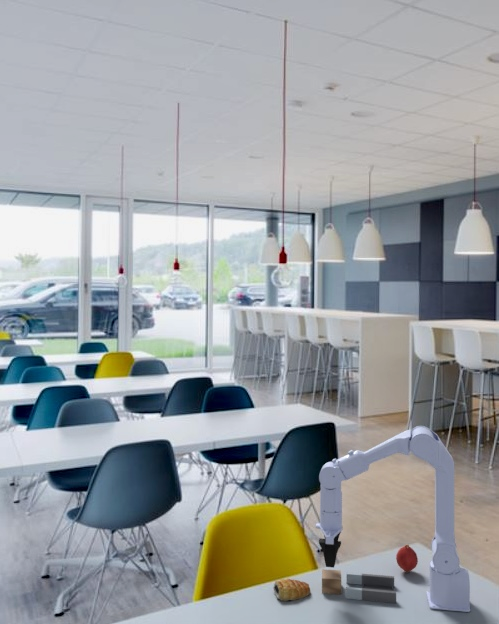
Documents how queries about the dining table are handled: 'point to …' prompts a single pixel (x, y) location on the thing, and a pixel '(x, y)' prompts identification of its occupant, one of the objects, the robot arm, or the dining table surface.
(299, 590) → the pastry
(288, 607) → the dining table surface
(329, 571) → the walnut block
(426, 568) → the dining table surface
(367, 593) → the grey i-beam block
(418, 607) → the dining table surface
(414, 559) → the pomegranate
